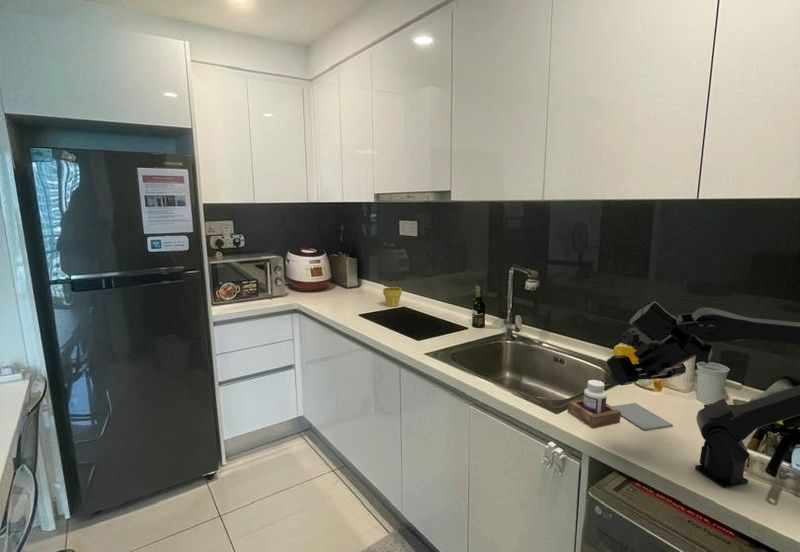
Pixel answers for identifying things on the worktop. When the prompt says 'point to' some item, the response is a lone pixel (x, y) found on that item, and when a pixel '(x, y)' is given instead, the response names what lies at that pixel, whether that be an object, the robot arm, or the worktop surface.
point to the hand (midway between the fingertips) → (622, 379)
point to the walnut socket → (592, 419)
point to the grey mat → (641, 417)
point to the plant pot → (392, 296)
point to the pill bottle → (595, 397)
